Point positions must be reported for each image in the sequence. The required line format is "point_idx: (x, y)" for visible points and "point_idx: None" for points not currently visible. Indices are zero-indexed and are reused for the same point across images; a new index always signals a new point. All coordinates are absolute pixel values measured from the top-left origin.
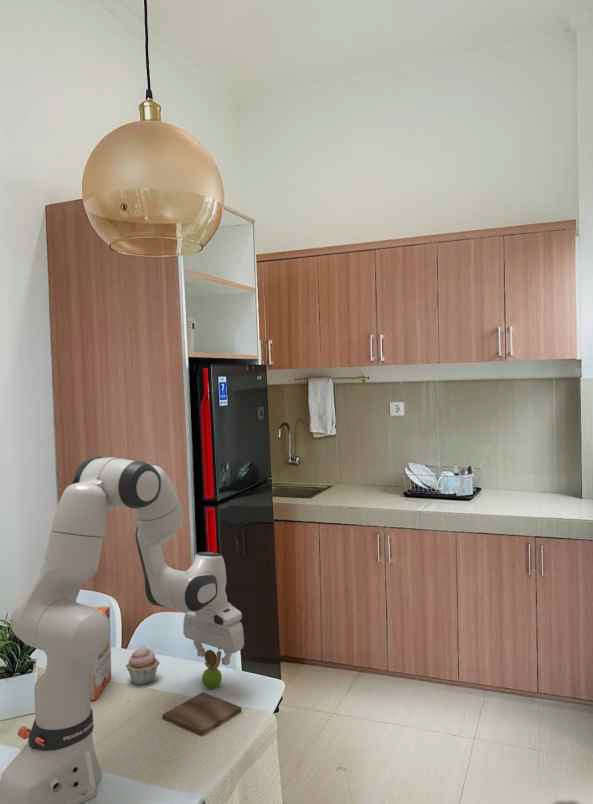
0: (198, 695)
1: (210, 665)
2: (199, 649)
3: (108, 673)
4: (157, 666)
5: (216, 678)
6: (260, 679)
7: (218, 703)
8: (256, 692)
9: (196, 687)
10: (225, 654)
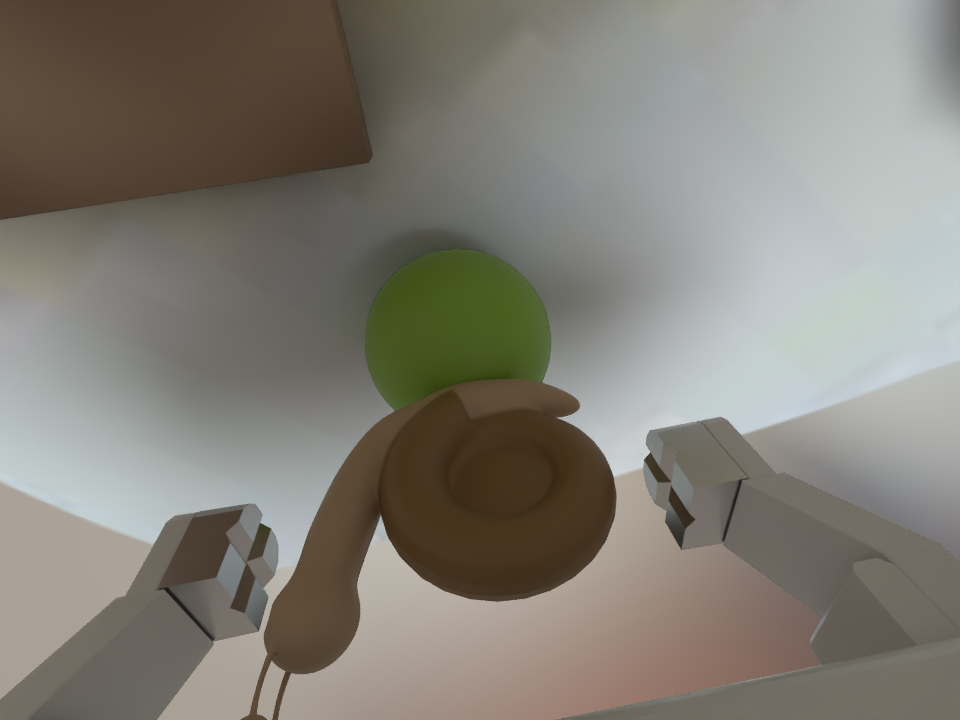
0: (328, 76)
1: (445, 407)
2: (745, 501)
3: None
4: None
5: (366, 351)
6: None
7: (4, 120)
8: (178, 461)
9: (555, 218)
10: (29, 707)
